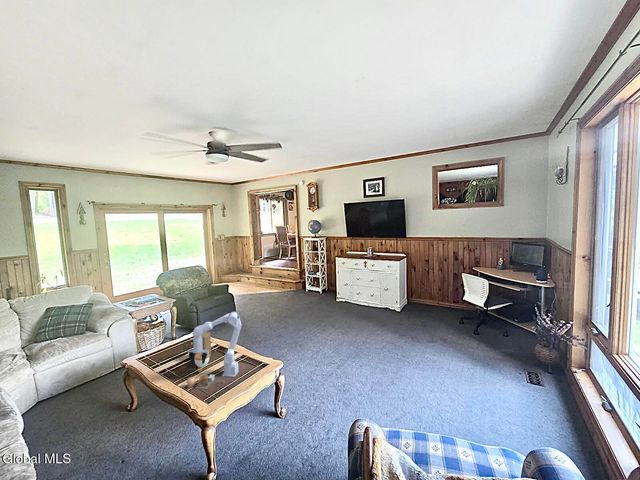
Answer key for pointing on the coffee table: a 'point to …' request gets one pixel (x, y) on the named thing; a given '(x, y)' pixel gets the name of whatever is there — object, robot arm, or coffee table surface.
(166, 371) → the coffee table surface
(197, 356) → the lidded jar
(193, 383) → the tan rounded cylinder
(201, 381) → the walnut block
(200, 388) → the slate coaster
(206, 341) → the wooden block
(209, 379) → the blue plastic box
